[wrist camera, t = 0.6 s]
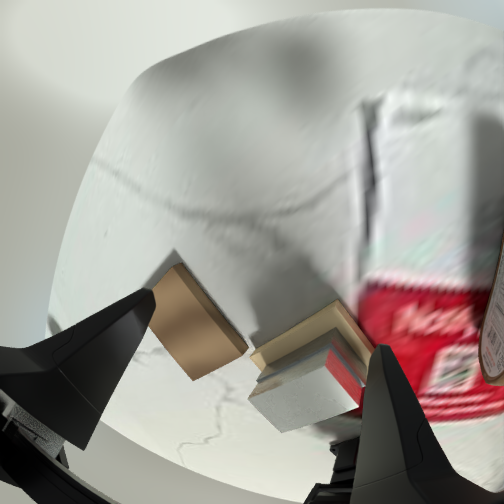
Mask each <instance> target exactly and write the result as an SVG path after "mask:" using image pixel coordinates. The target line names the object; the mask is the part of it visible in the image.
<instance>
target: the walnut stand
mask: <svg viewBox="0 0 504 504" xmlns="http://www.w3.org/2000/svg"><path fill="white" fill-rule="evenodd" d="M152 291H153V292H154V297H155V301H156V309H155V311H154V314H153V316H152V318H151V320H150V323H149V325H148V326H149V327H150V329H151V330H152V331H153V333H154V334H155V335H156V337H157V338H158V339H159V341H160V342H161V343H162V344H163V346H164V347H165V348H166V350H167V351H168V352H169V353H170V354H171V356H172V357H173V358H174V359H175V361H176V362H177V363H178V364H179V365H180V367H181V368H182V369H183V370H184V371H185V373H186V374H187V375H188V376H189V377H190V378H191V379H192V381H194V380H196V379H199V378H201V377H203V376H205V375H207V374H209V373H210V372H212V371H214V370H216V369H218V368H220V367H222V366H224V365H226V364H228V363H230V362H232V361H233V360H235V359H237V358H239V357H241V356H243V354H244V353H245V352H246V351H247V349H248V348H249V347H248V346H247V345H246V344H245V342H244V341H243V340H242V339H241V338H240V337H239V335H238V334H237V333H236V332H235V331H234V329H233V328H232V327H231V326H230V324H229V323H228V322H227V321H226V320H225V318H224V317H223V316H222V315H221V313H220V312H219V311H218V310H217V308H216V307H215V306H214V305H213V303H212V302H211V301H210V300H209V298H208V297H207V296H206V294H205V293H204V292H203V291H202V289H201V288H200V287H199V285H198V284H197V283H196V282H195V280H194V279H193V278H192V276H191V275H190V274H189V272H188V271H187V270H186V268H185V267H184V266H183V264H182V263H179V264H177V265H175V266H173V267H171V269H170V270H169V271H168V272H167V273H166V274H165V275H164V276H163V277H162V279H161V280H160V281H159V282H158V283H157V284H156V285H155V287H154V288H153V289H152Z"/></svg>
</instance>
